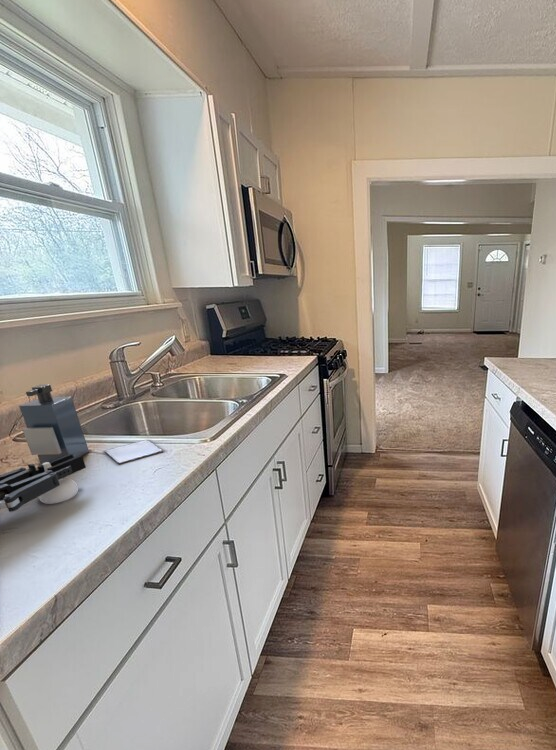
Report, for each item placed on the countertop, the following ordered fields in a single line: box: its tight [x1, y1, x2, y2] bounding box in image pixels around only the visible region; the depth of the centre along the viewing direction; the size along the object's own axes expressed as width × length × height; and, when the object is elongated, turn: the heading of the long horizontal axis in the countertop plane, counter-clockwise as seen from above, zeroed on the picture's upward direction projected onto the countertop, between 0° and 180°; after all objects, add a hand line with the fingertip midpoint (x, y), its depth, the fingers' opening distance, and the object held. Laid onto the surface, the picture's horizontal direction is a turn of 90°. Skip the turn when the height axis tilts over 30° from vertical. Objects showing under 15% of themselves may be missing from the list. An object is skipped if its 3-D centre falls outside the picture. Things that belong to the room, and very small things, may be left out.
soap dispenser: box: [18, 384, 90, 465], centre depth 95 cm, size 8×7×19 cm
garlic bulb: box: [38, 462, 79, 505], centre depth 80 cm, size 6×6×8 cm
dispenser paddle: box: [21, 427, 61, 456], centre depth 92 cm, size 1×6×6 cm, turn 93°
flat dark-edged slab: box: [104, 439, 164, 465], centre depth 102 cm, size 11×10×1 cm
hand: (77, 460), depth 84 cm, fingers closed on garlic bulb, 2 cm apart
